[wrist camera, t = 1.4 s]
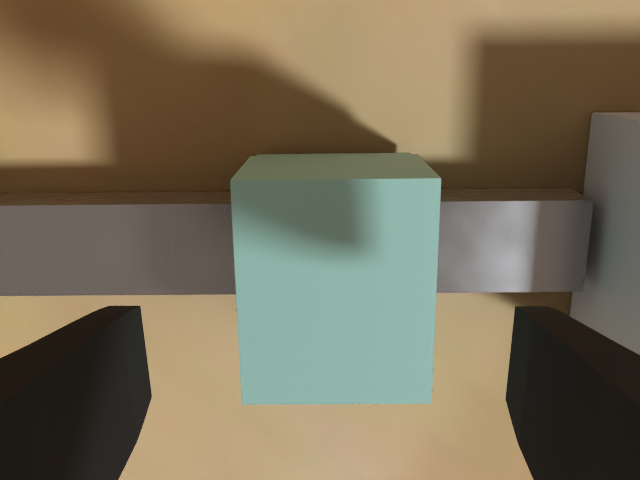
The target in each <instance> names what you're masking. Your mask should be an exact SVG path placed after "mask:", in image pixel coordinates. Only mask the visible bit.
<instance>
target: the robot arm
mask: <svg viewBox="0 0 640 480" xmlns="http://www.w3.org/2000/svg"><path fill="white" fill-rule="evenodd" d="M151 397H152V395H151V387H150V379H149V371H148V364H147V356H146V348H145V340H144V332H143V324H142V317H141V309H140V306H108V307H105V308H102V309H99V310H97V311H95V312H92V313H90V314H88V315H86V316H84V317H82V318H80V319H78V320H76V321H74V322H72V323H70V324H68V325H66V326H64V327H62V328H60V329H58V330H56V331H54V332H53V333H51V334H49V335H47V336H45V337H43V338H41V339H39V340H37V341H35V342H33V343H31V344H29V345H27V346H25V347H23V348H21V349H19V350H17V351H15V352H13V353H11V354H8V355H6V356H4V357H2V358H0V480H118V479H119V477H120V475H121V473H122V471H123V469H124V467H125V465H126V463H127V461H128V459H129V457H130V455H131V453H132V451H133V449H134V446H135V444H136V442H137V440H138V437H139V434H140V431H141V428H142V426H143V423H144V420H145V416H146V413H147V410H148V407H149V404H150V400H151ZM506 402H507V406H508V409H509V413H510V417H511V421H512V424H513V428H514V431H515V434H516V438H517V441H518V444H519V447H520V449H521V451H522V454H523V456H524V458H525V461H526V463H527V465H528V468H529V470H530V472H531V474H532V477H533V479H534V480H640V355H639V354H637V353H635V352H633V351H631V350H629V349H628V348H626V347H624V346H622V345H620V344H618V343H617V342H615V341H613V340H611V339H609V338H608V337H606V336H604V335H602V334H600V333H599V332H597V331H595V330H593V329H592V328H590V327H588V326H586V325H584V324H583V323H581V322H579V321H577V320H575V319H574V318H572V317H570V316H568V315H566V314H564V313H562V312H560V311H558V310H556V309H553V308H551V307H540V306H515V314H514V324H513V333H512V343H511V353H510V362H509V372H508V382H507V392H506Z"/></svg>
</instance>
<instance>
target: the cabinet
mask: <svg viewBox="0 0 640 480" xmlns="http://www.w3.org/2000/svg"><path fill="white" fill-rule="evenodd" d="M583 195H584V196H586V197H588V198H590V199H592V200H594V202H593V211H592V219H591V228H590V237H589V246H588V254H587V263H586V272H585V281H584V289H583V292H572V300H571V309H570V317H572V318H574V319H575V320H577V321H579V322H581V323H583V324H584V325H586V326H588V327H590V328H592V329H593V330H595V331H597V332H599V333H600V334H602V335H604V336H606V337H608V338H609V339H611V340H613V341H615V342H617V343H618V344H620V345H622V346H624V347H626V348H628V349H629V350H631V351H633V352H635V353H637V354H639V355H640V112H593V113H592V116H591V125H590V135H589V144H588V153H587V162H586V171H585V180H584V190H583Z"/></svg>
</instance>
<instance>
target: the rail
mask: <svg viewBox="0 0 640 480" xmlns="http://www.w3.org/2000/svg"><path fill="white" fill-rule="evenodd" d="M593 202H594V200H592V199H590V198H588V197H586V196H584V195H582V194H580V193H578V192H576V191H574V190H572V189H570V188H488V189H441V197H440V220H439V243H438V266H437V289H436V293H471V292H583V289H584V281H585V272H586V263H587V254H588V246H589V237H590V228H591V219H592V211H593ZM194 294H236V283H235V265H234V246H233V227H232V208H231V191H172V192H66V193H0V296H56V295H194Z"/></svg>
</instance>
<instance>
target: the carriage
mask: <svg viewBox="0 0 640 480" xmlns="http://www.w3.org/2000/svg"><path fill="white" fill-rule="evenodd" d="M230 189H231V208H232V227H233V246H234V265H235V283H236V302H237V321H238V340H239V359H240V378H241V397H242V405H256V404H432V381H433V358H434V335H435V312H436V289H437V266H438V243H439V220H440V197H441V177H440V176H439V175H438V174H437V173H436V172H435V171H433V170H432V169H431V168H430V167H429V166H428V165H427V164H426V163H425V162H424V161H423V160H422V159H421V158H420V157H419V156H418V155H417V154H410V153H332V154H257V155H256V156H250V157H249V158H248V159H247V161H246V162H245V163H244V164H243V165H242V167H241V168H240V169H239V170H238V171H237V173H236V174H235V175H234V176H233V177H232V179H231V180H230Z"/></svg>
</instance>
